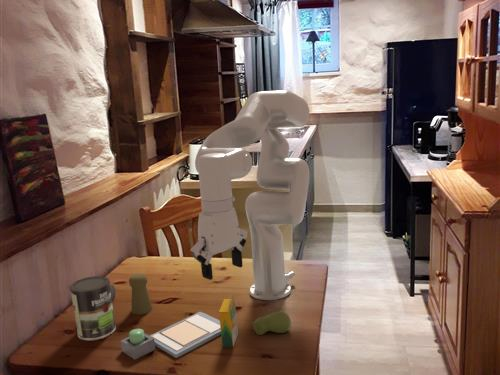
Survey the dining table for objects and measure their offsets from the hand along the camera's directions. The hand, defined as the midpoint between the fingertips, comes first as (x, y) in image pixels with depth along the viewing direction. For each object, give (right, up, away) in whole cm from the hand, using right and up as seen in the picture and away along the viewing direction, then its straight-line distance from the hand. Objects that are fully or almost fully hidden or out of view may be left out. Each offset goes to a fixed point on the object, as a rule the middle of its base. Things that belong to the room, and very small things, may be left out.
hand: (222, 272), depth 125 cm
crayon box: (+2, -18, +4) cm, 19 cm away
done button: (-21, -19, +2) cm, 28 cm away
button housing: (-21, -20, +2) cm, 29 cm away
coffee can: (-35, -19, +14) cm, 42 cm away
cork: (-25, -15, +25) cm, 38 cm away
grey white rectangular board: (-9, -18, +8) cm, 22 cm away
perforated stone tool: (-37, -16, +27) cm, 49 cm away
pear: (+12, -17, +7) cm, 22 cm away
